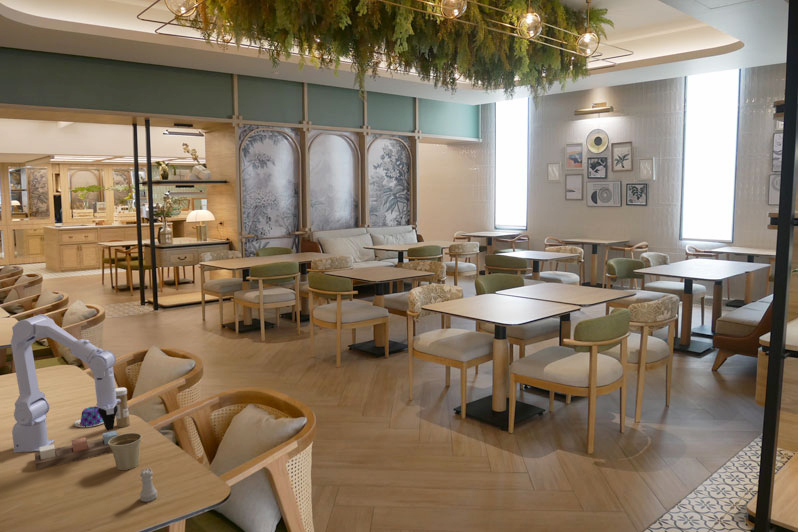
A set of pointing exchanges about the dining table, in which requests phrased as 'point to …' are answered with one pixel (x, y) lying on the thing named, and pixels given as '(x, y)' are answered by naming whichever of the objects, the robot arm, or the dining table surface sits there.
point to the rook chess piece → (147, 486)
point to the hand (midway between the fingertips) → (109, 429)
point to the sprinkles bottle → (122, 408)
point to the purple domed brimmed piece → (89, 417)
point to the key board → (72, 454)
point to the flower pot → (126, 450)
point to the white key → (47, 451)
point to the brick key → (79, 444)
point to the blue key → (108, 436)
